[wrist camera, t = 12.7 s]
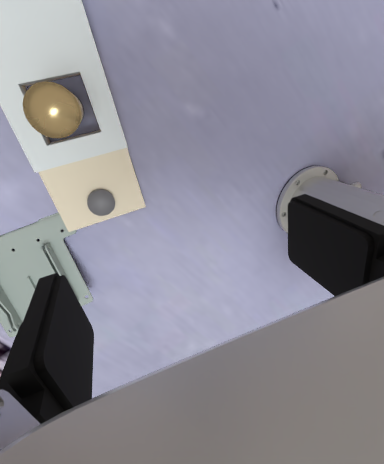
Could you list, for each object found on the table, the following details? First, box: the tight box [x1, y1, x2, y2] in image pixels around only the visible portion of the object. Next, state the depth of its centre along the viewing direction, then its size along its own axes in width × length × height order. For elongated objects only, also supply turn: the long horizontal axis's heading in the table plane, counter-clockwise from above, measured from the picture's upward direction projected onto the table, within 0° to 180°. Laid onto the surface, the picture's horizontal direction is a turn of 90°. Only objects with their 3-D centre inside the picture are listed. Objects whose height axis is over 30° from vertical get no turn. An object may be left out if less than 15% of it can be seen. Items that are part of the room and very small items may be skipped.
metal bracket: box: [0, 212, 93, 337], centre depth 34 cm, size 14×6×15 cm
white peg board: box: [0, 0, 146, 232], centre depth 27 cm, size 26×10×4 cm, turn 12°
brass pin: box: [23, 81, 84, 138], centre depth 23 cm, size 4×4×12 cm
